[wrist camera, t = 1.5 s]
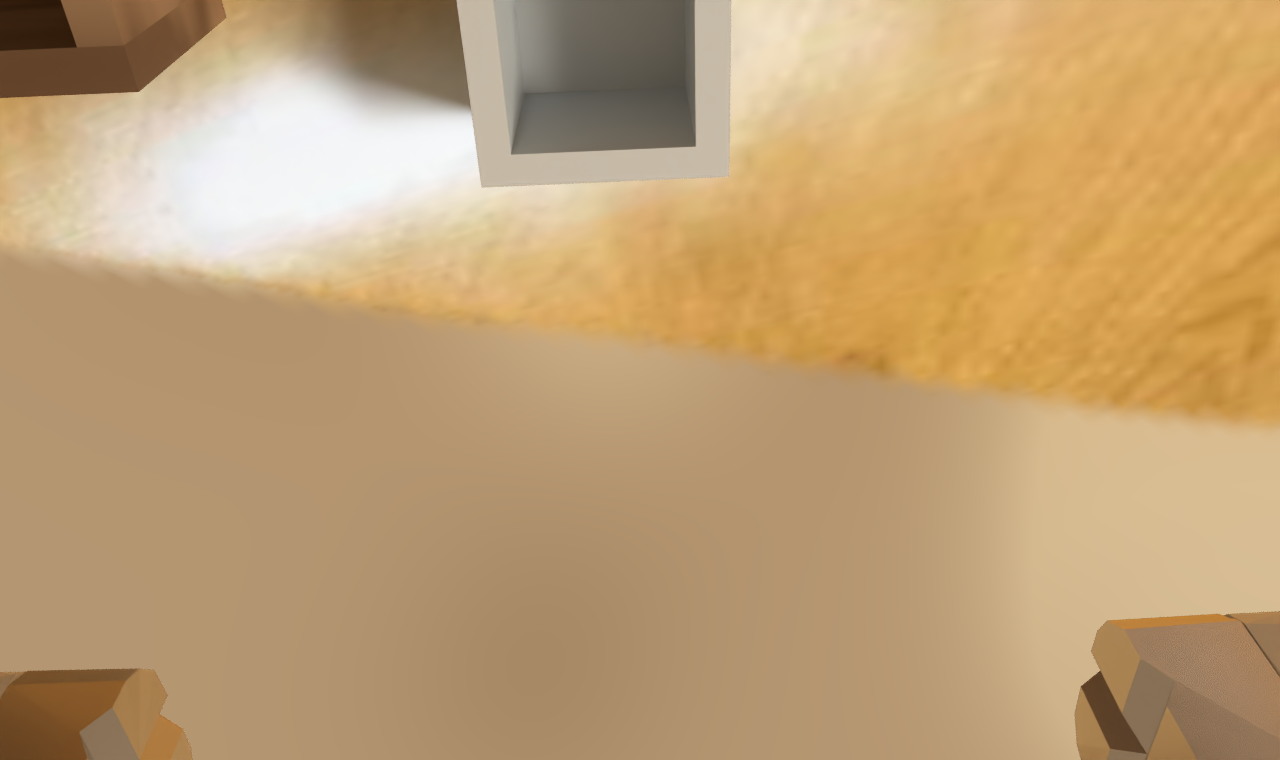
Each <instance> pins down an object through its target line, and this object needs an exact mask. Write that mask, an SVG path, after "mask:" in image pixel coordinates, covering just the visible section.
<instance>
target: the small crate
mask: <svg viewBox="0 0 1280 760" xmlns="http://www.w3.org/2000/svg"><path fill="white" fill-rule="evenodd" d="M456 1H457V8H458V16H459V23H460V30H461V38H462V45H463V53H464V60H465V68H466V75H467V83H468V90H469V97H470V105H471V112H472V120H473V127H474V135H475V142H476V149H477V157H478V164H479V172H480V179H481V187H504V186H527V185H550V184H574V183H597V182H620V181H644V180H667V179H690V178H713V177H729V143H730V60H731V0H456Z"/></svg>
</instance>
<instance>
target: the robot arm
mask: <svg viewBox="0 0 1280 760" xmlns="http://www.w3.org/2000/svg"><path fill="white" fill-rule="evenodd" d="M1091 652H1092V654H1093V656H1094V658H1095V660H1096V662H1097V665H1098V667H1099V669H1100V671H1099V672H1098V673H1097V674H1096V675H1094V676H1093V677H1092V678H1091V679H1090V680H1089V681H1087V682H1086V683H1085V684H1083V685H1082V686H1081V688H1080V692H1079V697H1078V701H1077V705H1076V710H1075V725H1076V741H1077V747H1078V751H1079V754H1080V758H1081V760H1280V611H1279V612H1259V613H1240V614H1227V615H1220V614H1210V615H1194V616H1193V615H1192V616H1175V617H1159V618H1142V619H1126V620H1109V621H1106V622H1105V624H1103V626H1102V627H1101V628H1100V629H1099V630H1098V631H1097V634H1096V637H1095V640H1094V643H1093V647H1092V650H1091ZM167 696H168V695H167V693H166V691H165V689H164V687H163V685H162V683H161V681H160V679H159V678H158V676H157V674H156V672H155V670H150V669H101V670H100V669H96V670H50V671H27V672H0V760H193V758H192V750H191V746H190V744H189V742H188V739H187V737H186V735H185V732H184V730H183V729H182V728H181V727H179V726H177V725H176V724H174V723H173V722H171V721H170V720H168V719H167V718H165V717H163V716H162V715H160V712H161V710H162V708H163V705H164V703H165V701H166V699H167Z"/></svg>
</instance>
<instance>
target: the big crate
mask: <svg viewBox="0 0 1280 760" xmlns="http://www.w3.org/2000/svg"><path fill="white" fill-rule="evenodd" d="M225 18H226V15H225V12H224V8H223V4H222V0H0V98H8V97H31V96H53V95H76V94H99V93H122V92H139V91H140V90H142V89H143V88H144V87H145V86H146V85H147V84H149V83H150V82H151V81H152V80H153V79H155V78H156V77H157V76H158V75H159V74H160V73H162V72H163V71H164V70H165V69H166V68H167V67H169V66H170V65H171V64H172V63H173V62H175V61H176V60H177V59H178V58H179V57H180V56H182V55H183V54H184V53H185V52H186V51H188V50H189V49H190V48H191V47H192V46H193V45H195V44H196V43H197V42H198V41H199V40H201V39H202V38H203V37H204V36H205V35H206V34H208V33H209V32H210V31H211V30H212V29H214V28H215V27H216V26H217V25H218V24H219V23H221V22H222V21H223V20H224V19H225Z"/></svg>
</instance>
